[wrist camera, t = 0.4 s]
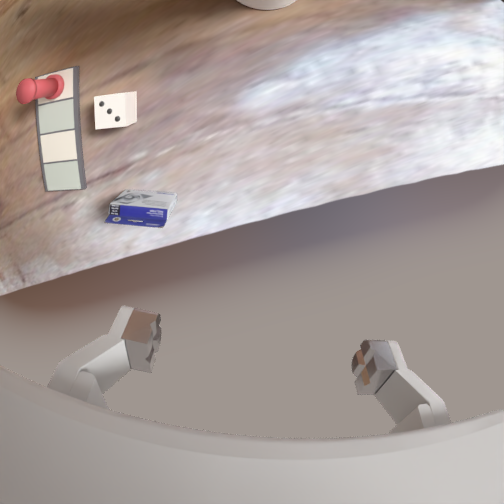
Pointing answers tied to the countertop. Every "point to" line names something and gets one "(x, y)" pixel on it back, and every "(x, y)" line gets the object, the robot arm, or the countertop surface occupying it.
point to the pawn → (40, 88)
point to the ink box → (142, 208)
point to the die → (115, 110)
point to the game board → (61, 135)
